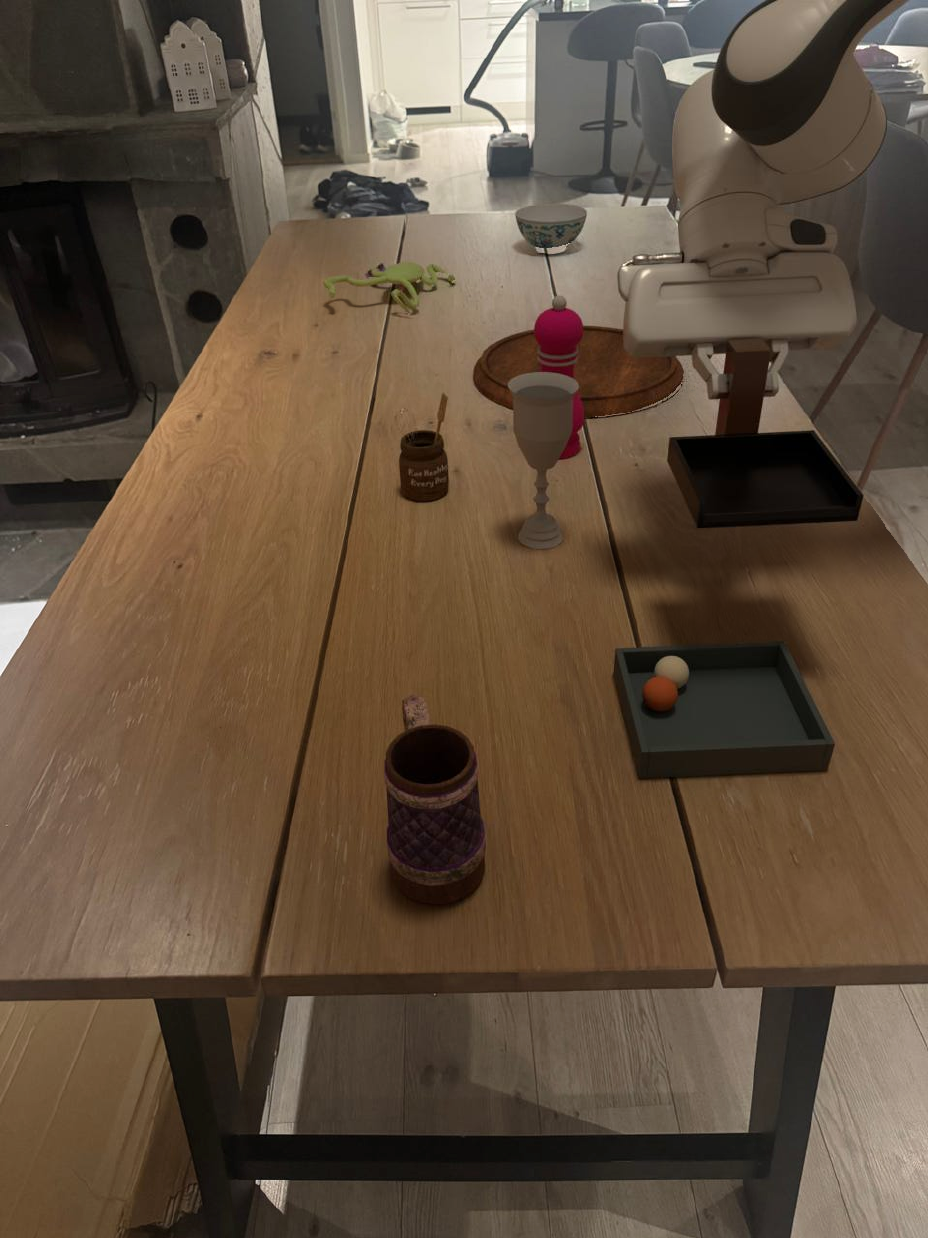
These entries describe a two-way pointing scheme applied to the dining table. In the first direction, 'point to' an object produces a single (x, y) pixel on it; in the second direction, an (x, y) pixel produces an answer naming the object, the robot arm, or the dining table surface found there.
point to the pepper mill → (561, 355)
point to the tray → (723, 712)
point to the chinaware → (550, 224)
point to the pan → (758, 461)
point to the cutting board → (583, 371)
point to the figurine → (393, 280)
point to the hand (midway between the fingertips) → (743, 395)
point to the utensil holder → (424, 461)
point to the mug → (433, 809)
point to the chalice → (542, 441)
